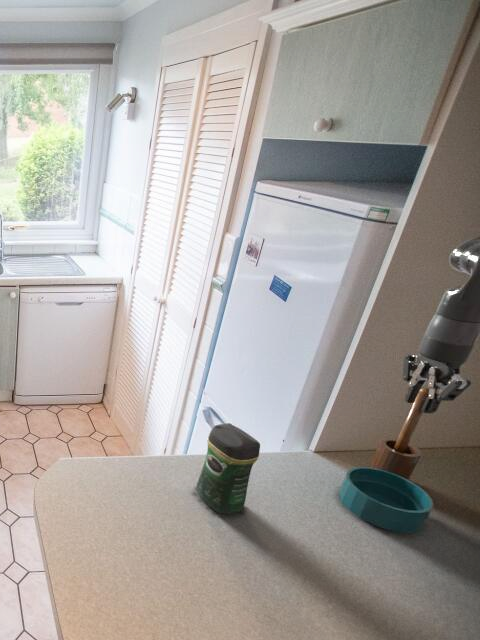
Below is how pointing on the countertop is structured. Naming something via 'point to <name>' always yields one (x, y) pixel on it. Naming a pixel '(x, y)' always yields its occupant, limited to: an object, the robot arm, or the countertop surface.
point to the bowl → (385, 499)
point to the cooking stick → (411, 421)
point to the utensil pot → (395, 458)
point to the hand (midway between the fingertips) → (418, 406)
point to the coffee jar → (227, 468)
